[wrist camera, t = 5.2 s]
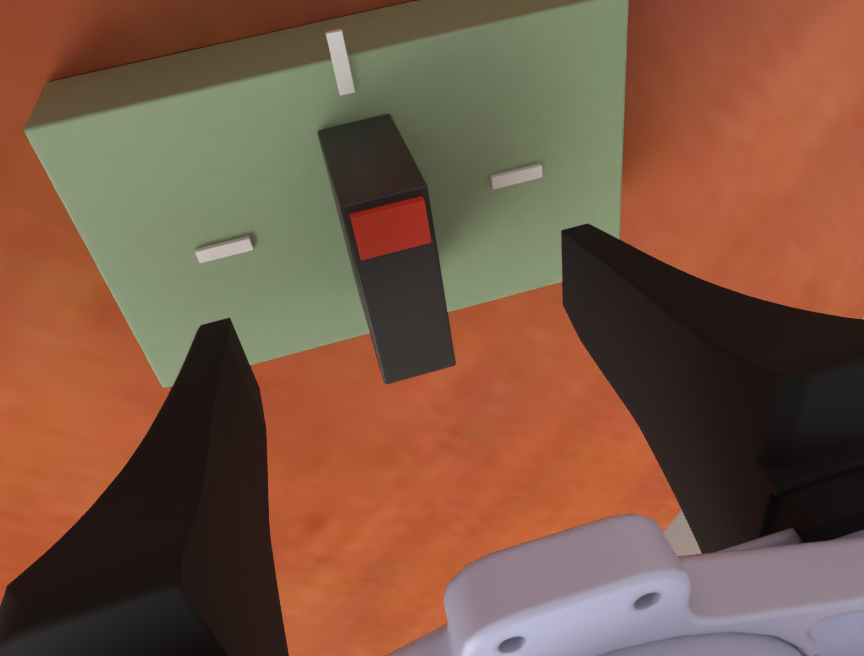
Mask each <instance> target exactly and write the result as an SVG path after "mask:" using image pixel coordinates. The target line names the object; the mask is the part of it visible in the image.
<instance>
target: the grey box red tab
mask: <svg viewBox="0 0 864 656" xmlns="http://www.w3.org/2000/svg"><path fill="white" fill-rule="evenodd" d="M317 134H318V138H319V142H320V146H321V150H322V154H323V157H324V161H325V165H326V169H327V173H328V177H329V181H330V185H331V189H332V192H333V196H334V200H335V204H336V208H337V212H338V216H339V220H340V224H341V228H342V231H343V235H344V239H345V243H346V247H347V251H348V255H349V259H350V263H351V266H352V270H353V274H354V278H355V282H356V286H357V290H358V294H359V297H360V301H361V304H362V308H363V311H364V315H365V318H366V322H367V325H368V329H369V332H370V336H371V339H372V343H373V346H374V349H375V353H376V356H377V360H378V363H379V367H380V370H381V374H382V377H383V381H384V383H385V384H390V383H393V382H397V381H401V380H404V379H408V378H411V377H415V376H419V375H422V374H426V373H430V372H433V371H437V370H441V369H444V368H448V367H451V366H454V365H455V364H456V362H455V356H454V349H453V343H452V337H451V330H450V324H449V318H448V311H447V305H446V299H445V292H444V286H443V280H442V273H441V267H440V261H439V254H438V248H437V242H436V235H435V229H434V223H433V217H432V210H431V204H430V198H429V191H428V186H427V184H426V182H425V180H424V178H423V176H422V174H421V172H420V170H419V168H418V166H417V165H416V163H415V161H414V159H413V157H412V155H411V153H410V151H409V149H408V147H407V145H406V143H405V142H404V140H403V138H402V136H401V134H400V132H399V130H398V128H397V126H396V124H395V122H394V120H393V119H392V117H391V115H390V114H386V115H382V116H377V117H373V118H369V119H365V120H361V121H356V122H352V123H348V124H344V125H339V126H335V127H331V128H327V129H322V130H319V131H318V132H317Z"/></svg>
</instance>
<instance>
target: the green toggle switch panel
mask: <svg viewBox="0 0 864 656" xmlns="http://www.w3.org/2000/svg"><path fill="white" fill-rule="evenodd" d="M628 4H629V0H416V1H412V2H407V3H402V4H398V5H393V6H389V7H384V8H380V9H375V10H371V11H366V12H362V13H357V14H353V15H348V16H344V17H339V18H335V19H330V20H326V21H321V22H317V23H312V24H308V25H303V26H299V27H294V28H290V29H285V30H281V31H276V32H272V33H267V34H263V35H258V36H254V37H249V38H245V39H240V40H236V41H231V42H227V43H222V44H218V45H213V46H209V47H204V48H200V49H195V50H191V51H186V52H181V53H177V54H172V55H168V56H163V57H159V58H154V59H150V60H145V61H141V62H136V63H132V64H127V65H123V66H118V67H114V68H109V69H105V70H100V71H96V72H91V73H87V74H82V75H78V76H73V77H69V78H64V79H60V80H55V81H51V82H48V83H46V85H45V87H44V89H43V91H42V93H41V95H40V97H39V99H38V101H37V103H36V105H35V107H34V109H33V111H32V113H31V116H30V118H29V120H28V122H27V124H26V126H25V128H24V132H25V134H26V136H27V138H28V140H29V142H30V143H31V145H32V147H33V149H34V151H35V153H36V155H37V156H38V158H39V160H40V162H41V164H42V166H43V168H44V169H45V171H46V173H47V175H48V177H49V179H50V180H51V182H52V184H53V186H54V188H55V190H56V192H57V193H58V195H59V197H60V199H61V201H62V203H63V205H64V206H65V208H66V210H67V212H68V214H69V216H70V217H71V219H72V221H73V223H74V225H75V227H76V229H77V230H78V232H79V234H80V236H81V238H82V240H83V242H84V243H85V245H86V247H87V249H88V251H89V253H90V254H91V256H92V258H93V260H94V262H95V264H96V266H97V267H98V269H99V271H100V273H101V275H102V277H103V279H104V280H105V282H106V284H107V286H108V288H109V290H110V291H111V293H112V295H113V297H114V299H115V301H116V303H117V304H118V306H119V308H120V310H121V312H122V314H123V316H124V317H125V319H126V321H127V323H128V325H129V327H130V328H131V330H132V332H133V334H134V336H135V338H136V340H137V341H138V343H139V345H140V347H141V349H142V351H143V353H144V354H145V356H146V358H147V360H148V362H149V364H150V365H151V367H152V369H153V371H154V373H155V375H156V377H157V378H158V380H159V382H160V384H161V386H162V387H163V388H167V387H171V386H173V384H174V382H175V380H176V378H177V376H178V374H179V372H180V370H181V367H182V365H183V363H184V361H185V358H186V356H187V354H188V351H189V349H190V347H191V344H192V342H193V339H194V337H195V334H196V332H197V330H198V328H199V327H200V325H203V324H207V323H210V322H214V321H218V320H222V319H226V318H229V317H230V319H231V321H232V323H233V326H234V328H235V331H236V333H237V335H238V338H239V340H240V343H241V345H242V347H243V350H244V352H245V355H246V357H247V359H248V362H249V364H250V365H253V364H256V363H260V362H264V361H268V360H271V359H275V358H279V357H283V356H286V355H290V354H294V353H298V352H301V351H305V350H309V349H312V348H316V347H320V346H324V345H327V344H331V343H335V342H339V341H342V340H346V339H350V338H354V337H357V336H361V335H365V334H368V333H370V332H369V329H368V325H367V322H366V318H365V315H364V311H363V308H362V304H361V301H360V297H359V294H358V290H357V286H356V282H355V278H354V274H353V270H352V266H351V263H350V259H349V255H348V251H347V247H346V243H345V239H344V235H343V231H342V228H341V224H340V220H339V216H338V212H337V208H336V204H335V200H334V196H333V192H332V189H331V185H330V181H329V177H328V173H327V169H326V165H325V161H324V157H323V154H322V150H321V146H320V142H319V138H318V134H317V132H318V131H319V130H322V129H327V128H331V127H335V126H339V125H344V124H348V123H352V122H356V121H361V120H365V119H369V118H373V117H377V116H382V115H386V114H390V115H391V117H392V119H393V120H394V122H395V124H396V126H397V128H398V130H399V132H400V134H401V136H402V138H403V140H404V142H405V143H406V145H407V147H408V149H409V151H410V153H411V155H412V157H413V159H414V161H415V163H416V165H417V166H418V168H419V170H420V172H421V174H422V176H423V178H424V180H425V182H426V184H427V186H428V191H429V198H430V204H431V210H432V217H433V223H434V229H435V235H436V242H437V248H438V254H439V261H440V267H441V273H442V280H443V286H444V292H445V299H446V305H447V311H448V312H451V311H454V310H458V309H462V308H466V307H469V306H473V305H477V304H480V303H484V302H488V301H492V300H495V299H499V298H503V297H507V296H510V295H514V294H518V293H522V292H525V291H529V290H533V289H536V288H540V287H544V286H548V285H551V284H555V283H559V282H562V248H561V230H564V229H568V228H572V227H576V226H579V225H583V224H587V223H588V224H590V225H592V226H595V227H596V228H598V229H600V230H602V231H604V232H606V233H608V234H610V235H612V236H614V237H615V238H617V239H619V240H620V215H621V188H622V162H623V136H624V110H625V83H626V57H627V31H628Z"/></svg>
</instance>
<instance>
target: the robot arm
mask: <svg viewBox="0 0 864 656" xmlns="http://www.w3.org/2000/svg"><path fill="white" fill-rule="evenodd" d="M561 248H562V289H563V306H564V308H565V310H566V312H567V314H568V316H569V318H570V320H571V322H572V325H573V326H574V328H575V330H576V332H577V334H578V336H579V338H580V340H581V342H582V343H583V345H584V346H585V348H586V349H587V351H588V352H589V354H590V355H591V357H592V358H593V360H594V361H595V362H596V364H597V365H598V367H599V368H600V370H601V371H602V373H603V374H604V375H605V377H606V378H607V380H608V381H609V383H610V384H611V386H612V387H613V388H614V390H615V391H616V393H617V394H618V396H619V397H620V399H621V400H622V401H623V403H624V404H625V406H626V407H627V409H628V410H629V411H630V413H631V415H632V416H633V418H634V419H635V421H636V423H637V424H638V426H639V427H640V429H641V431H642V433H643V435H644V437H645V438H646V440H647V442H648V444H649V446H650V448H651V450H652V452H653V453H654V455H655V457H656V459H657V461H658V463H659V465H660V467H661V469H662V471H663V473H664V475H665V477H666V479H667V481H668V483H669V485H670V487H671V489H672V491H673V493H674V495H675V497H676V499H677V501H678V503H679V505H680V507H681V509H682V511H683V513H684V515H685V517H686V520H687V522H688V524H689V526H690V528H691V530H692V532H693V535H694V537H695V539H696V541H697V543H698V546H699V548H700V550H701V552H702V554H697V555H686V556H677V555H676V554H675V552H674V550H673V549H672V547H671V545H670V544H669V542H668V540H667V539H666V537H665V535H664V534H663V532H662V530H661V529H660V527H659V525H658V523H657V522H656V520H653V519H650V518H647V517H644V516H641V515H638V514H625V515H618V516H611V517H607V518H603V519H600V520H597V521H594V522H590V523H587V524H584V525H581V526H577V527H574V528H571V529H568V530H564V531H561V532H558V533H555V534H551V535H548V536H545V537H542V538H539V539H535V540H532V541H529V542H526V543H522V544H519V545H516V546H513V547H509V548H506V549H503V550H500V551H496V552H493V553H490V554H488V555H486V556H484V557H482V558H480V559H478V560H475V561H473V562H471V563H469V564H467V565H466V566H465V567H464V568H463V569H462V570H461V571H460V572H459V573H458V574H457V575H456V576H455V577H454V578H453V579H451V581H450V582H449V583H448V585H447V588H446V592H445V597H444V601H443V603H444V607H445V611H446V615H447V624H445V625H443V626H441V627H439V628H437V629H435V630H433V631H431V632H430V633H428V634H426V635H424V636H422V637H420V638H418V639H416V640H414V641H412V642H411V643H409V644H407V645H405V646H403V647H401V648H399V649H397V650H395V651H394V652H392V653H390V654H388V655H386V656H864V320H863V319H854V318H846V317H840V316H834V315H828V314H822V313H817V312H811V311H806V310H802V309H797V308H792V307H788V306H784V305H780V304H776V303H772V302H768V301H764V300H761V299H757V298H754V297H750V296H747V295H744V294H741V293H738V292H735V291H732V290H729V289H726V288H723V287H720V286H717V285H715V284H712V283H710V282H707V281H704V280H702V279H700V278H697V277H695V276H693V275H690V274H688V273H686V272H683V271H681V270H679V269H677V268H674V267H672V266H670V265H668V264H666V263H664V262H662V261H660V260H658V259H656V258H654V257H652V256H650V255H648V254H646V253H644V252H642V251H640V250H638V249H636V248H634V247H632V246H630V245H629V244H627V243H625V242H623V241H621V240H619V239H617V238H615V237H614V236H612V235H610V234H608V233H606V232H604V231H602V230H600V229H598V228H596V227H595V226H592V225H590V224H588V223H587V224H583V225H579V226H576V227H572V228H568V229H564V230H561ZM0 656H289V654H288V648H287V642H286V637H285V631H284V625H283V619H282V613H281V606H280V600H279V593H278V587H277V580H276V574H275V567H274V560H273V553H272V546H271V538H270V526H269V505H268V469H267V439H266V425H265V419H264V412H263V406H262V401H261V395H260V389H259V386H258V383H257V381H256V379H255V376H254V374H253V371H252V369H251V367H250V364H249V362H248V359H247V357H246V355H245V352H244V350H243V347H242V345H241V343H240V340H239V338H238V335H237V333H236V331H235V328H234V326H233V323H232V321H231V319H230V317H229V318H226V319H222V320H218V321H214V322H210V323H207V324H203V325H200V327H199V328H198V330H197V332H196V334H195V337H194V339H193V342H192V344H191V347H190V349H189V351H188V354H187V356H186V358H185V361H184V363H183V365H182V367H181V370H180V372H179V374H178V376H177V378H176V380H175V382H174V384H173V386H172V388H171V390H170V392H169V395H168V397H167V398H166V400H165V402H164V404H163V406H162V408H161V410H160V411H159V413H158V415H157V417H156V418H155V420H154V422H153V424H152V425H151V427H150V429H149V431H148V432H147V434H146V436H145V437H144V439H143V440H142V442H141V444H140V445H139V447H138V448H137V450H136V451H135V453H134V454H133V455H132V457H131V458H130V460H129V461H128V463H127V464H126V465H125V467H124V468H123V469H122V471H121V472H120V473H119V474H118V476H117V477H116V478H115V479H114V480H113V482H112V483H111V484H110V485H109V486H108V488H107V489H106V490H105V491H104V493H103V494H102V495H101V496H100V497H99V499H98V500H97V501H96V502H95V503H94V504H93V506H92V507H91V508H90V509H89V510H88V511H87V512H86V513H85V514H84V515H83V516H82V517H81V518H80V520H79V521H78V522H77V523H76V524H75V525H74V526H73V527H72V528H71V529H70V530H69V531H68V532H67V533H66V534H65V535H64V536H63V537H62V538H61V539H60V540H59V541H58V542H56V543H55V544H54V545H53V546H52V547H51V548H50V549H49V550H48V551H47V552H46V553H45V554H43V555H42V556H41V557H40V558H39V559H38V560H37V561H35V562H34V563H33V564H32V565H31V566H30V567H29V568H27V569H26V570H25V571H24V572H23V573H22V574H21V575H19V576H18V577H17V578H16V579H15V580H14V581H12V582H11V583H10V584H9V585H7V588H6V591H5V594H4V597H3V600H2V603H1V606H0Z"/></svg>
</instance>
